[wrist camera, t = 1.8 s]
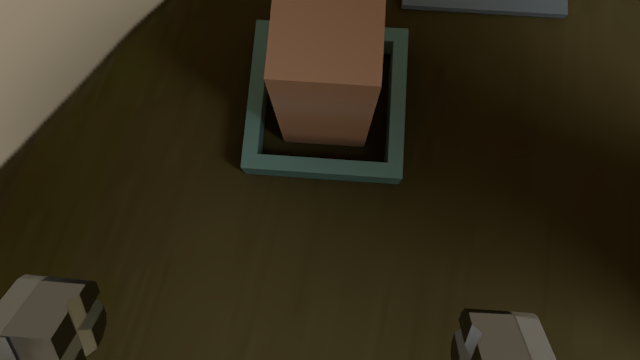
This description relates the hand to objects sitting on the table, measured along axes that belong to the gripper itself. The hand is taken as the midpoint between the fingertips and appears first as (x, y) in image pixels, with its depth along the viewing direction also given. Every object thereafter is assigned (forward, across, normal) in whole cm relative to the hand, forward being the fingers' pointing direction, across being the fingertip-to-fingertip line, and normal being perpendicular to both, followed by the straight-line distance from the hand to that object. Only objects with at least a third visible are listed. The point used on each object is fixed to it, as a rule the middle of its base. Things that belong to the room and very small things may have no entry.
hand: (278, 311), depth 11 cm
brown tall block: (+24, -1, +6) cm, 24 cm away
